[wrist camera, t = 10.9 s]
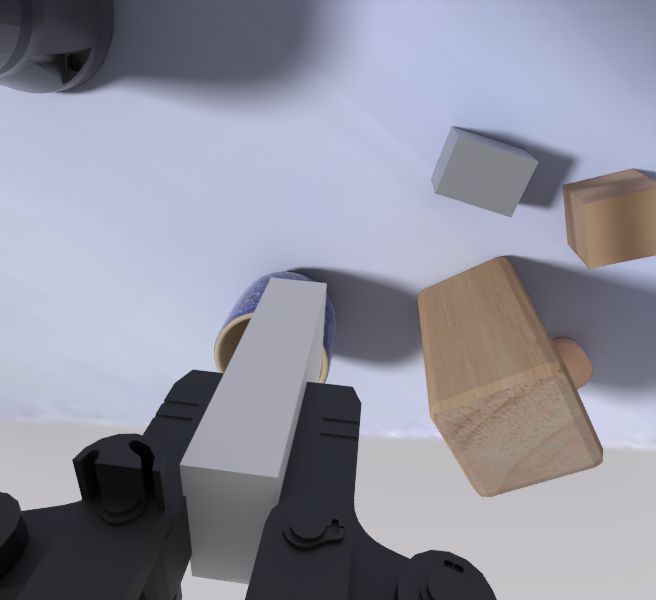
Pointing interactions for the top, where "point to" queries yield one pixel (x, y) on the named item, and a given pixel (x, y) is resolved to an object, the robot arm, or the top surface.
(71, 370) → the top surface
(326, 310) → the planter
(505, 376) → the wooden block
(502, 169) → the gray block
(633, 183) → the walnut cube
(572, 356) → the terracotta puck
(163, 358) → the top surface
